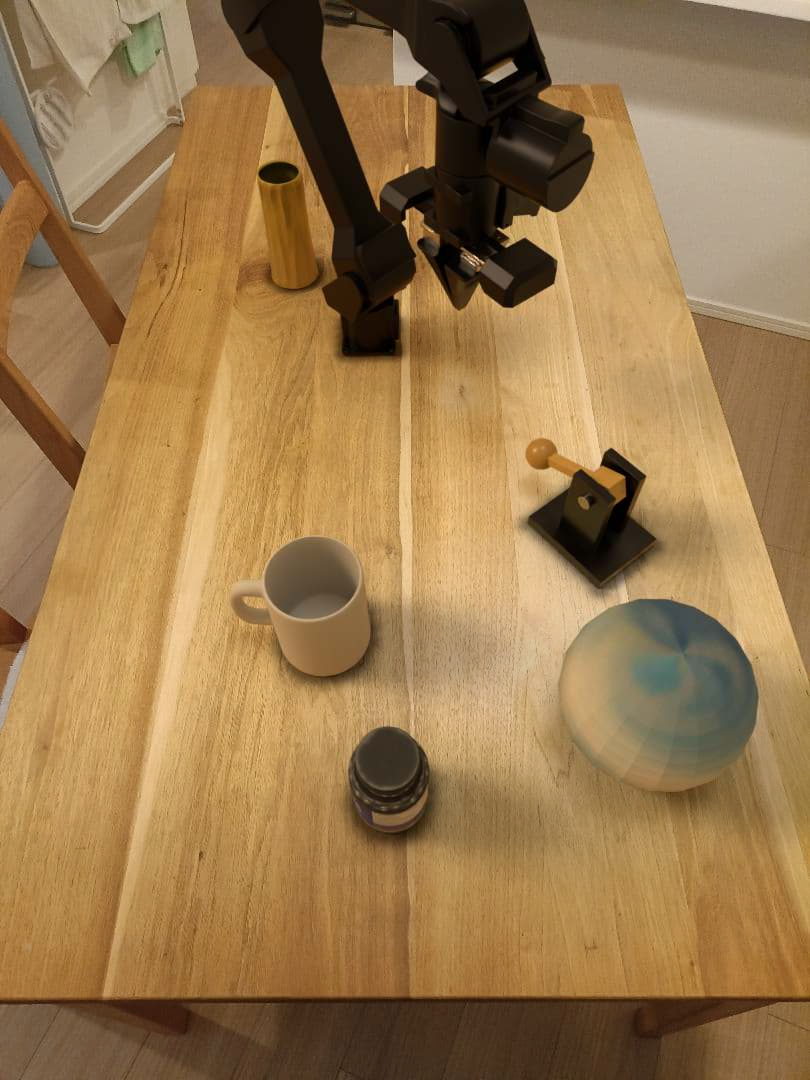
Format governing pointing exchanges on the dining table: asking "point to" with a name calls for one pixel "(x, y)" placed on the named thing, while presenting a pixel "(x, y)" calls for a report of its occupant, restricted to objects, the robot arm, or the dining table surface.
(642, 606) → the decorative ball
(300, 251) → the vase
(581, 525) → the lever base
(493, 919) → the dining table surface
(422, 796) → the pill bottle
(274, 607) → the mug
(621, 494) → the ball knob lever
